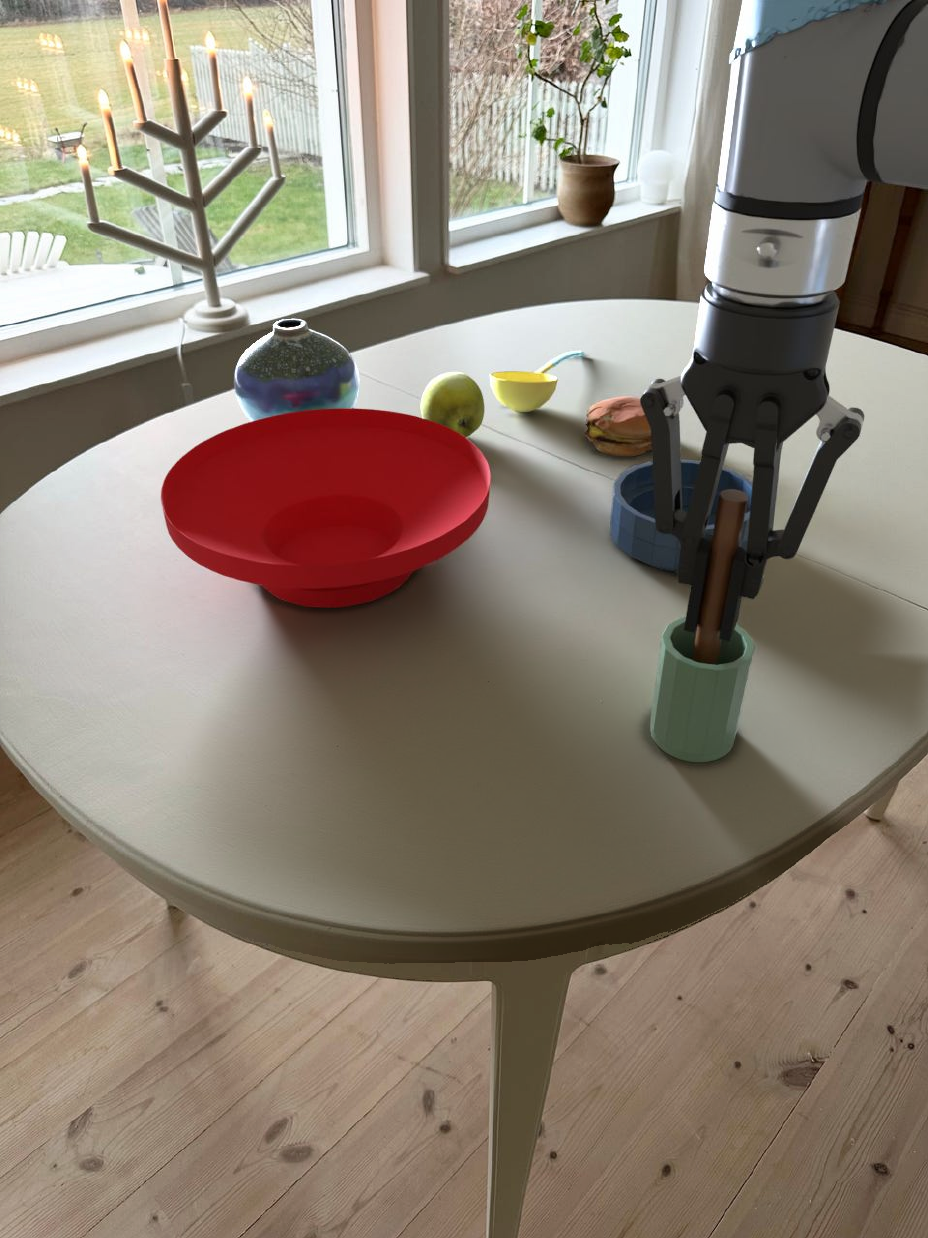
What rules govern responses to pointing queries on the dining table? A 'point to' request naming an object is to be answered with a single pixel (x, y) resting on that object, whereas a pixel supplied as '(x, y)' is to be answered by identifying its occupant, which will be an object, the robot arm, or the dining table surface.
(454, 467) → the bowl
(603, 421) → the burger
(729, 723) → the crock
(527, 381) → the ladle
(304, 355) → the vase
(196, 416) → the dining table surface
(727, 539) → the stick
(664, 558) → the blue pet dish
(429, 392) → the apple
